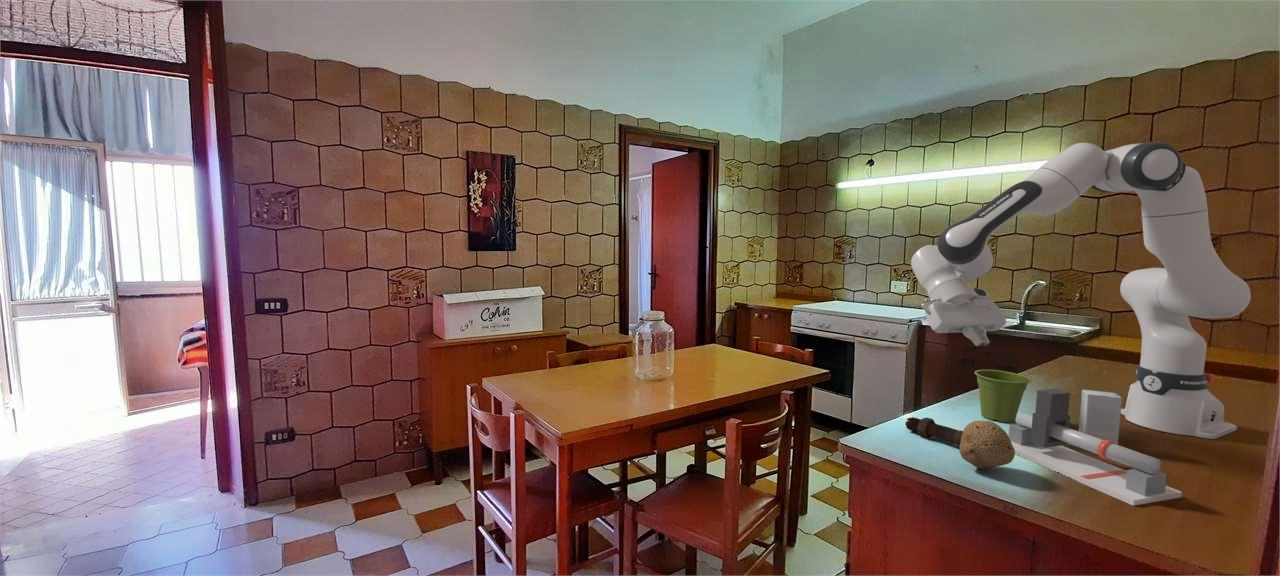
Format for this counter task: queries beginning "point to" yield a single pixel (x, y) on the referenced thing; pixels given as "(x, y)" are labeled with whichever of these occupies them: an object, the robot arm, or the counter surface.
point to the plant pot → (1000, 394)
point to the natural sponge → (986, 445)
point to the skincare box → (1100, 414)
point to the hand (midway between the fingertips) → (983, 344)
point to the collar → (1049, 416)
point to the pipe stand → (1095, 463)
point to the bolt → (934, 430)
